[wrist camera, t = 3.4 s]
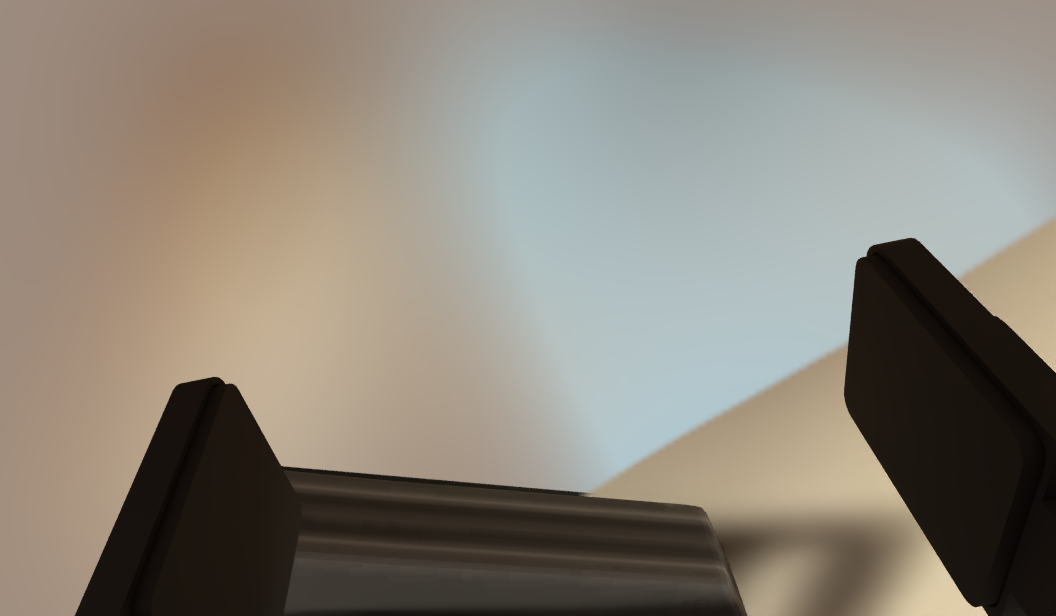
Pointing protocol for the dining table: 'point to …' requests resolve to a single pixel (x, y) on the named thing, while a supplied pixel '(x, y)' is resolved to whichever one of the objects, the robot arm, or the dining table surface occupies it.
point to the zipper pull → (498, 552)
